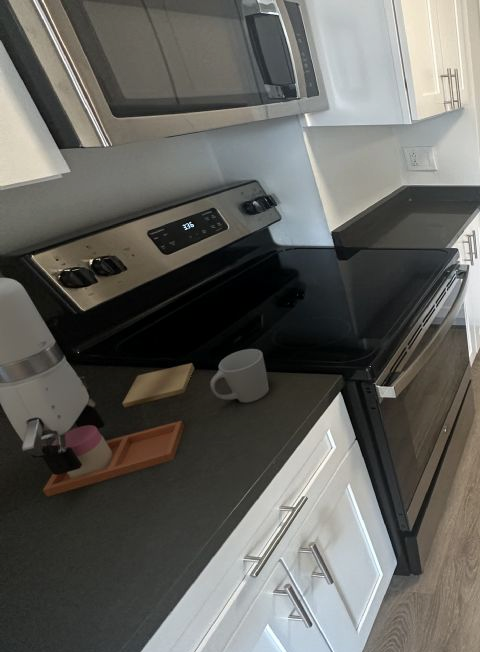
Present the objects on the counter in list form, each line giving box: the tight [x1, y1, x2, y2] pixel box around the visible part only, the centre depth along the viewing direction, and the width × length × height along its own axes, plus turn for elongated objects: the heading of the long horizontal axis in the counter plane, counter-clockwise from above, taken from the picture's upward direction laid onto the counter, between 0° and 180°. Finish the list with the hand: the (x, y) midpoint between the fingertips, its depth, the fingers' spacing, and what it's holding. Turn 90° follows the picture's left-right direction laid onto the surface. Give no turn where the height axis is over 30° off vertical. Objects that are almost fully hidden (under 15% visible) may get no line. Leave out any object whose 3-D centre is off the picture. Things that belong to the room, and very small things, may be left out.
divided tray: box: [42, 420, 185, 498], centre depth 72 cm, size 16×9×2 cm, turn 115°
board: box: [122, 362, 195, 408], centre depth 90 cm, size 10×10×2 cm
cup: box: [210, 348, 270, 403], centre depth 85 cm, size 8×10×8 cm
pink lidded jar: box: [51, 425, 114, 479], centre depth 70 cm, size 6×6×6 cm
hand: (82, 448), depth 70 cm, fingers open, 9 cm apart
